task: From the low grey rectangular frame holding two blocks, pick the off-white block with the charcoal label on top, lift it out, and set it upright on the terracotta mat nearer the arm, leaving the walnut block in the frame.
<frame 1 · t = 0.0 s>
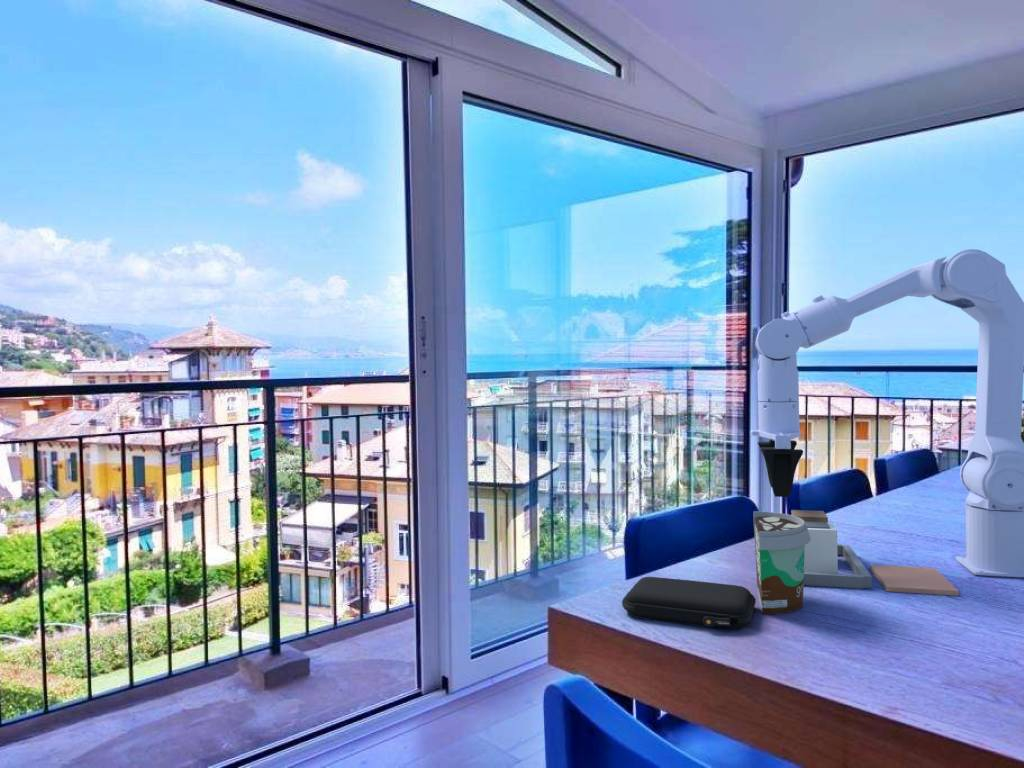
hand: (780, 491, 103), 10 cm above the table, tool pointing down, fingers open, 7 cm apart
food container: (786, 603, 84), on the table
grey rectangular frame: (813, 567, 98), on the table
terracotta mat: (911, 581, 91), on the table
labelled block: (817, 576, 94), resting in grey rectangular frame
walnut block: (809, 560, 102), resting in grey rectangular frame
carrying case or bag: (687, 617, 81), on the table
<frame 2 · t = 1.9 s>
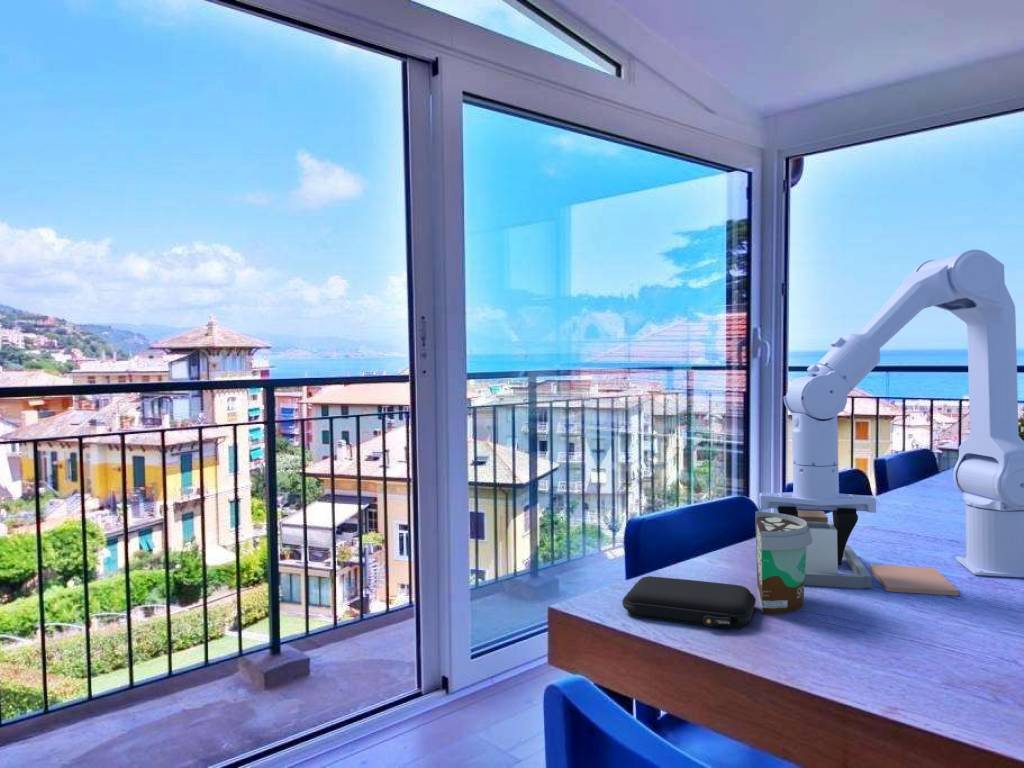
hand: (817, 562, 94), 2 cm above the table, tool pointing down, fingers closed on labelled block, 4 cm apart
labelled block: (817, 576, 94), resting in grey rectangular frame, touching gripper
everything else where it was.
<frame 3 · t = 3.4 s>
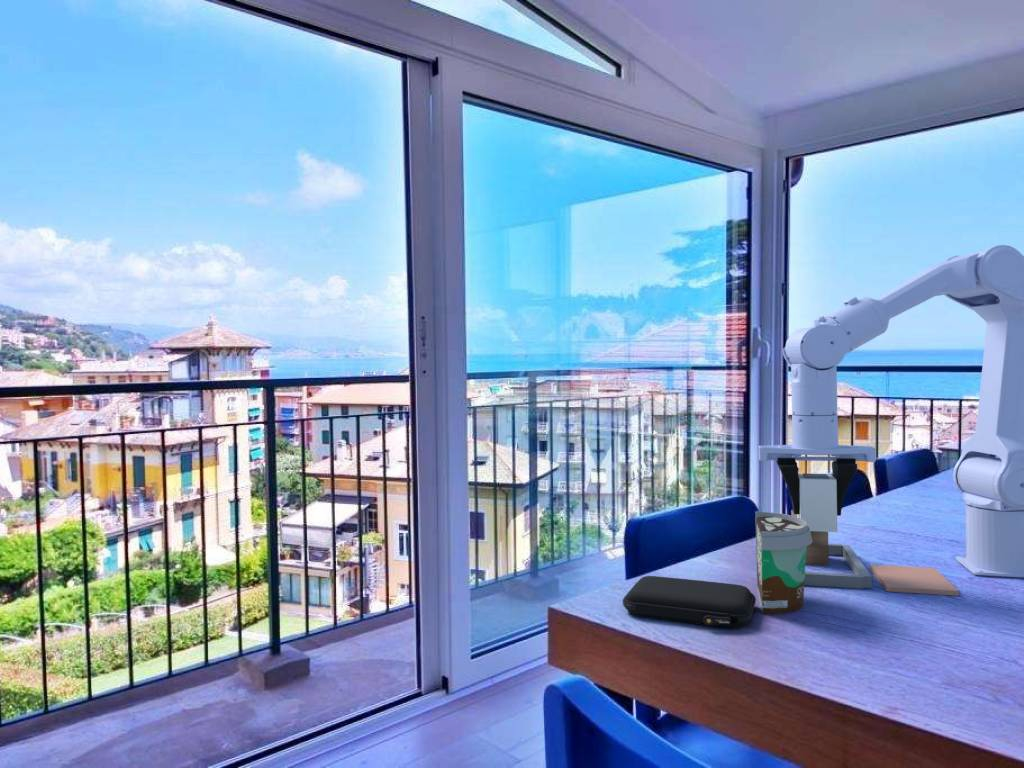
hand: (816, 513, 94), 9 cm above the table, tool pointing down, fingers closed on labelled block, 4 cm apart
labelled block: (816, 527, 94), point 7 cm above the table, touching gripper
everything else where it was.
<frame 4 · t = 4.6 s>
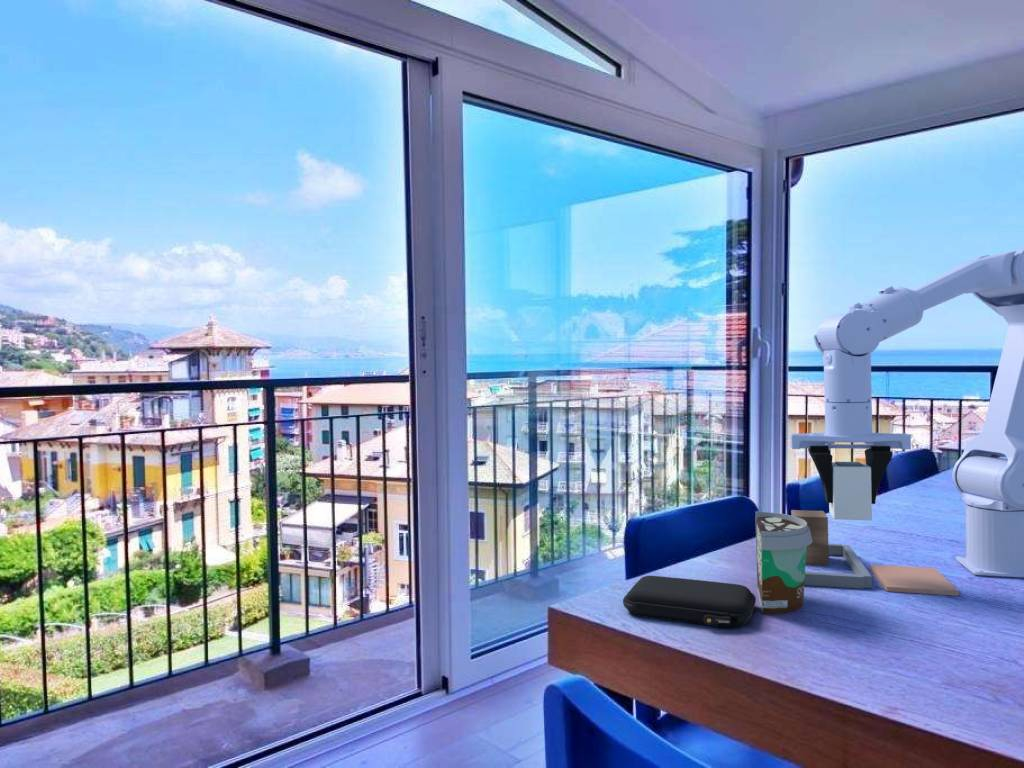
hand: (849, 502, 93), 10 cm above the table, tool pointing down, fingers closed on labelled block, 4 cm apart
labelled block: (850, 516, 93), point 8 cm above the table, touching gripper
everything else where it was.
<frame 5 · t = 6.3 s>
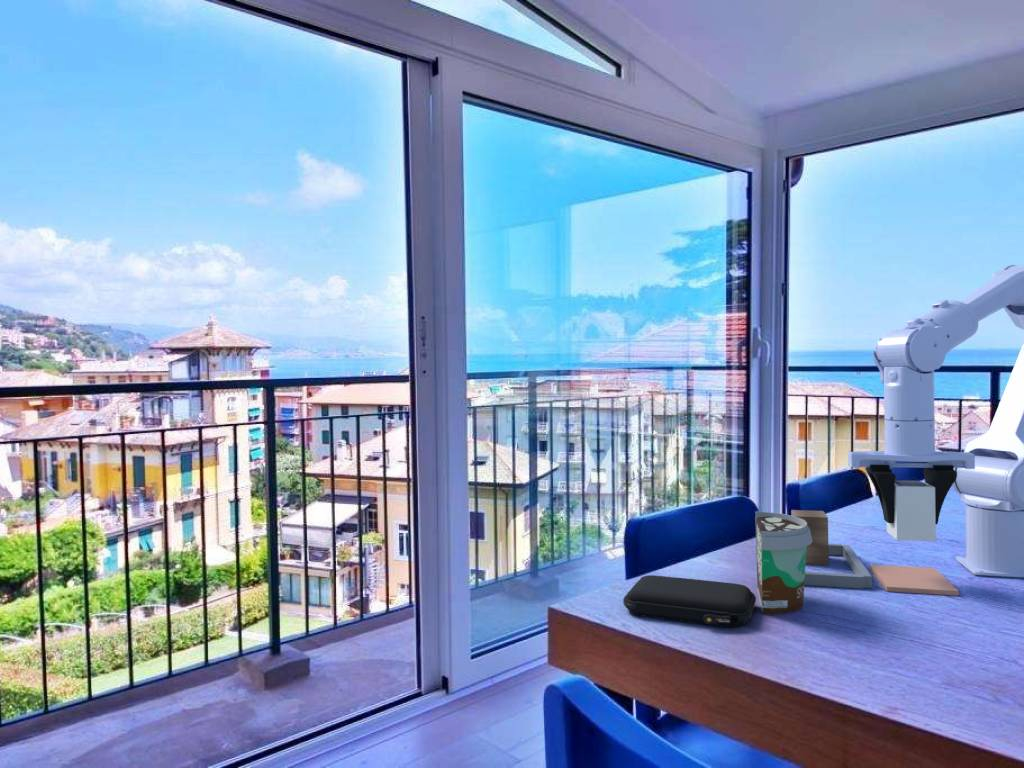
hand: (910, 522, 90), 8 cm above the table, tool pointing down, fingers closed on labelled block, 4 cm apart
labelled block: (910, 536, 91), point 6 cm above the table, touching gripper
everything else where it was.
when the fingers open (3 cm above the table, at t = 7.5 s): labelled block stays where it is, resting on terracotta mat.
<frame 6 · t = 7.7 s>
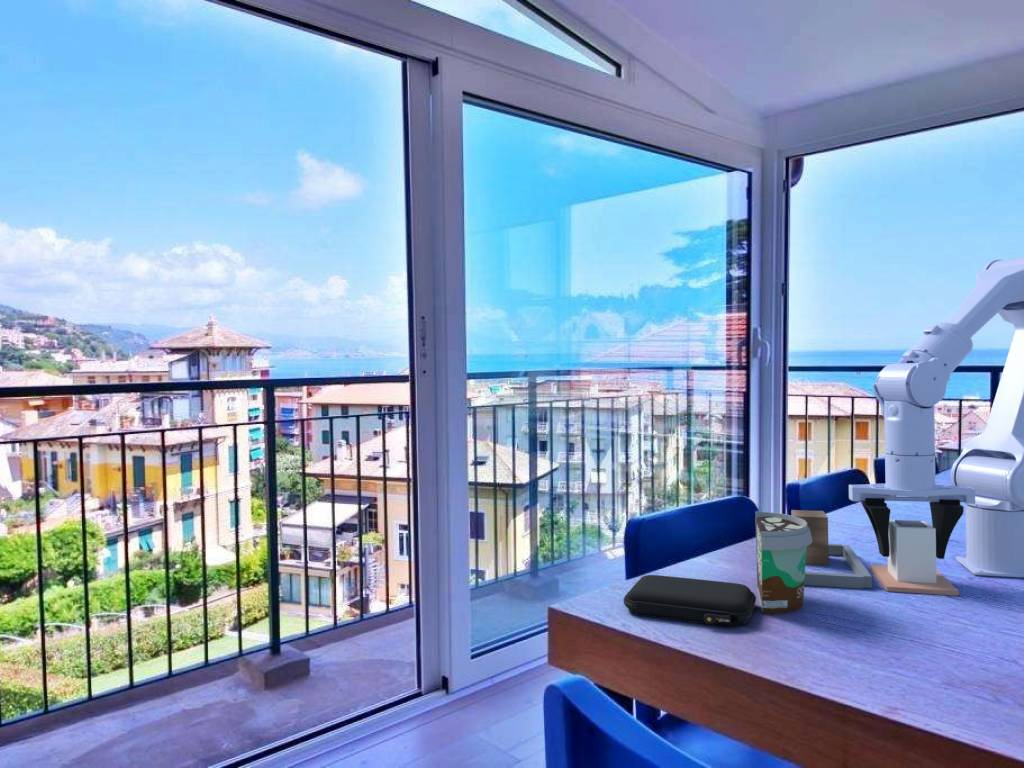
hand: (911, 555, 91), 3 cm above the table, tool pointing down, fingers open, 6 cm apart
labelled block: (911, 576, 91), point 1 cm above the table, touching terracotta mat
everything else where it was.
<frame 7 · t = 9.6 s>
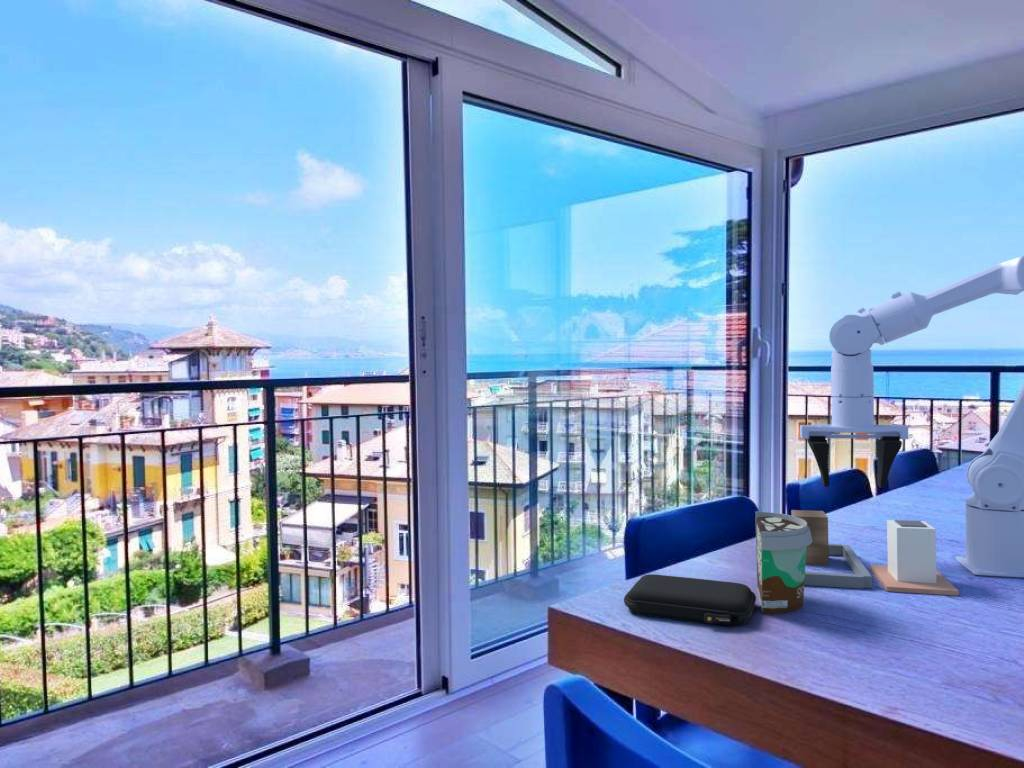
hand: (853, 486, 103), 10 cm above the table, tool pointing down, fingers open, 7 cm apart
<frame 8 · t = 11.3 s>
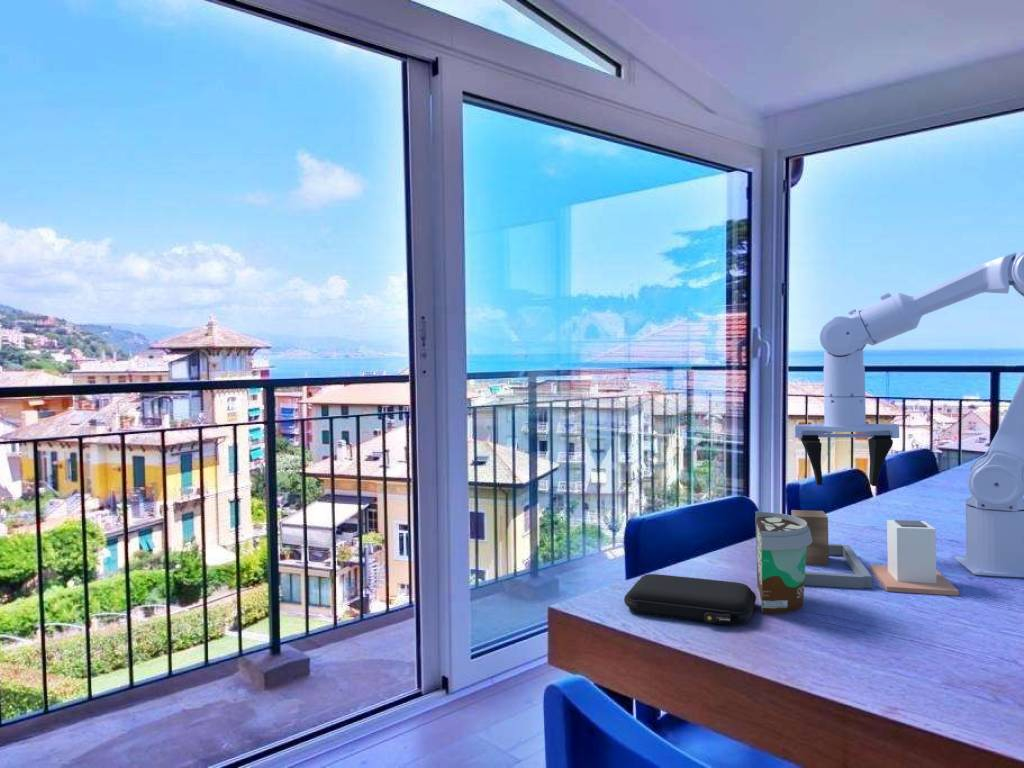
hand: (845, 484, 105), 10 cm above the table, tool pointing down, fingers open, 7 cm apart
at the end: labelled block inside the target area on the terracotta mat (0.0 cm from its centre), point 0.6 cm above the terracotta mat's base; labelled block tilted 0°; the gripper is holding nothing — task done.
